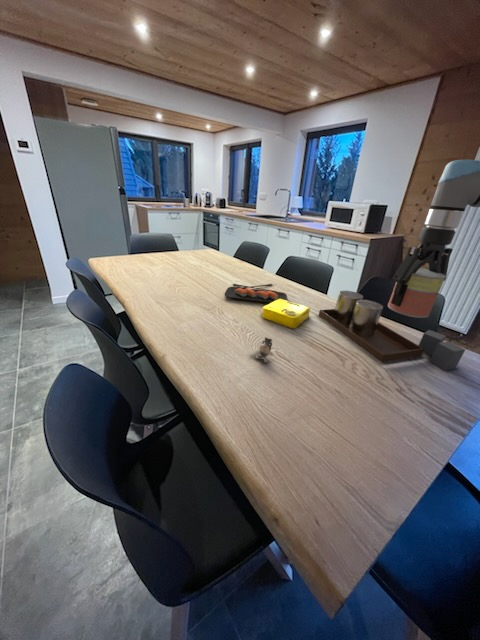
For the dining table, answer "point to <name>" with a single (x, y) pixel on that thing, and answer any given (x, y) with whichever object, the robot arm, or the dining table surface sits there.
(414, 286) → the canned food
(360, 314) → the tin
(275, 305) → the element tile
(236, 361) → the dining table surface
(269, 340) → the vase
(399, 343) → the tray
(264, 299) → the sushi plate
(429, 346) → the grey block
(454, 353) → the grey block
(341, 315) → the tin
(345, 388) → the dining table surface
